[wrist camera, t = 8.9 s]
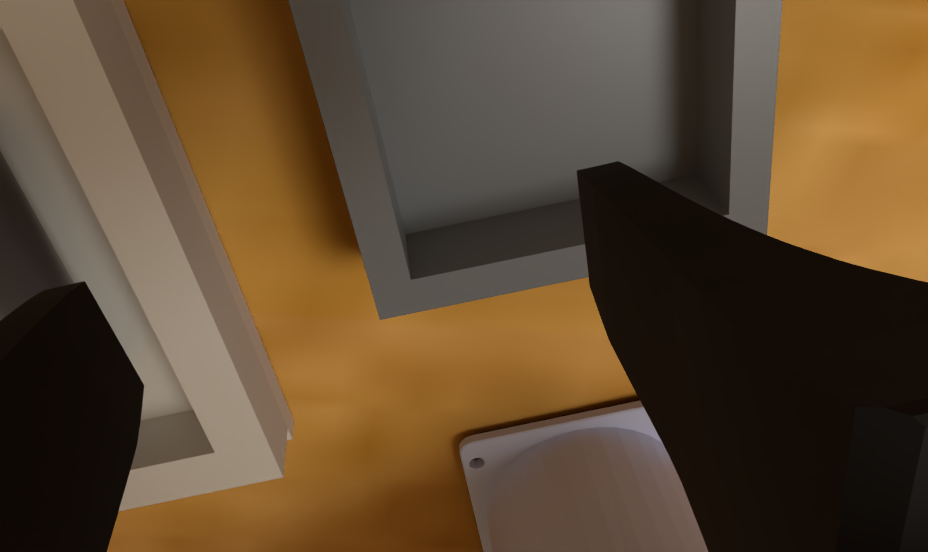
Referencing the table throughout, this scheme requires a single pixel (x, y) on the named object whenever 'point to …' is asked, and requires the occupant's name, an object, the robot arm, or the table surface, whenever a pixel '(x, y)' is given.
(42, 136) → the trough board
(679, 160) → the bin
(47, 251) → the cylinder
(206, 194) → the table surface
